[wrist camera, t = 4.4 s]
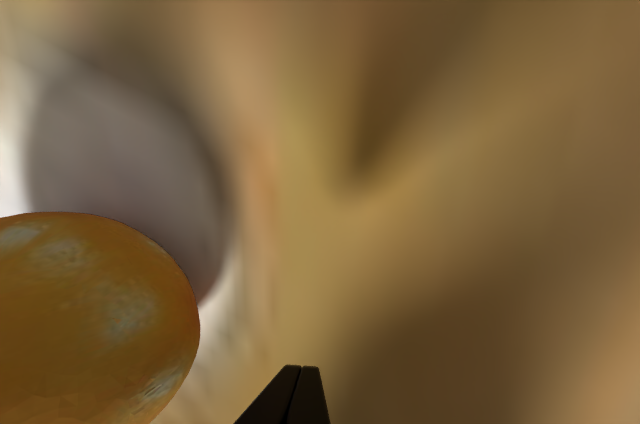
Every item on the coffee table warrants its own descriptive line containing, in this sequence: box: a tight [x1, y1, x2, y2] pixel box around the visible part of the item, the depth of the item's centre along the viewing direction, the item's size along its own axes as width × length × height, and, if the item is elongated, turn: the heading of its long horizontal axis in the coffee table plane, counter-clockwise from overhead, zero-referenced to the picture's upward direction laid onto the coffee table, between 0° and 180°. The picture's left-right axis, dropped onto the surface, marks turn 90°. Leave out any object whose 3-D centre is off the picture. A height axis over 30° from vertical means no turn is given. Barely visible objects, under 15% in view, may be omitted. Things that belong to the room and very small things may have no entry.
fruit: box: [0, 212, 200, 424], centre depth 10 cm, size 8×8×8 cm
